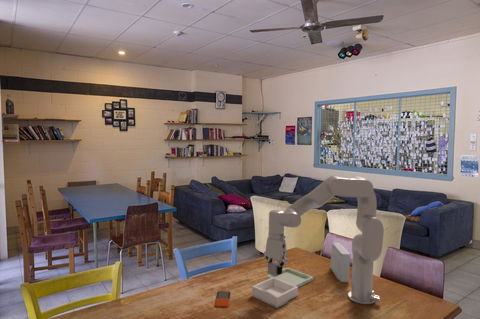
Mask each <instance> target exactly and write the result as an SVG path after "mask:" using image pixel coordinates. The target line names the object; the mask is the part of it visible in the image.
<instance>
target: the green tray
mask: <svg viewBox="0 0 480 319" xmlns="http://www.w3.org/2000/svg"><path fill="white" fill-rule="evenodd" d="M272 277H275V278H277V279H280V280H282V281H284V282H287V283H289V284H292V285H294V286H297V287H298V289H299V288H300V287H303V286H305V285H306V284H309V283H311V282H312V281H314V276H312V275H310V274H307V273H303V272H301V271H299V270H295V269H292V268H290V267H285V268H282V274H280V275H278V276H273V275H271V274H268V275H267V276H266V280H267V279H270V278H272Z"/></svg>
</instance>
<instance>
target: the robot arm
mask: <svg viewBox="0 0 480 319" xmlns="http://www.w3.org/2000/svg"><path fill="white" fill-rule="evenodd" d="M335 196H336V197H343V198H344V197H345V198H356V199H357V212H356V220H355V224H356V228H357V229H358V230H359V231H360V232H361V233H358V234H356V235H355V236H353V238H352V240H351V241H352V242H351V251H352V265H351V266H352V268H351V269H352V270H351V290H350V291H349V292H348V293H347V297H348V298H349V300H351V301H353V302H354V303H356V304H360V305H361V304H362V305H372V304H374V303H375V302H377V303H381V297H380V295H377V294H375V290H373V282H374V262H375V261H377V260H379V259H380V257H381V255H382V252H383V242H384V232H385V231H384V230H385V229H384V224H383V223H382V221H381V220H380V219H379V218H378V217H377V206H378V205H377V202H378V201H377V195H376V192H375V191H374V185H373V183H372V182H371V181H370V180H369V179H367V178H364V177H361V176H356V175H355V176H352V177H351V178H345V177H340V176H337V175H331V176H329V177H328V178H326V179H325V180H323V181H322V182H321V183H319V185H317V186H316V187H315V188H314V189H312V190H311V191H310V192H309V193H307V194H305V195H303V196H302V197H300V198H299V199H297V200H296V201H294V202H293V203H292V204H290V206H288V207H287V208H286V209H285V210H284V211H283V210H280V209H272V210H270V211H269V213H268V235H267V236H268V237H267V240H266V243H265V251H264V252H263V255H264V257H265V259H266V260H267V261H266V263H267V264H268V263H270V262H273V261H276V262H278V267H277V275H279V274H282V269H283V266H284V265H285V264H287V263H289V260H288V257H287V255H288V254H287V253H288V252H287V251H288V250H287V240H286V235H285V228H286V227H287V228H290V229H291V228H292V229H293V228H295V229H296V228H297V227H299V226H300V225H301V223H302V217H301V216H303V215H304V214H305V213H306V212H307V213H308V211H311V210H313V209H319V208H321V207H323V206H324V205H325V204H326V203H328V202H329V201H330V200H332V198H334V197H335Z"/></svg>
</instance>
